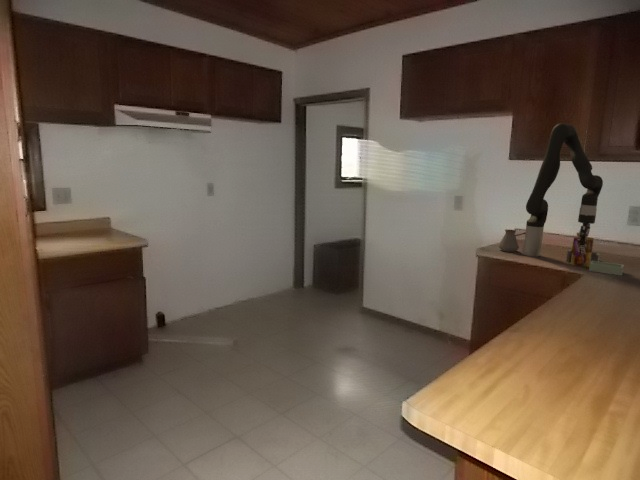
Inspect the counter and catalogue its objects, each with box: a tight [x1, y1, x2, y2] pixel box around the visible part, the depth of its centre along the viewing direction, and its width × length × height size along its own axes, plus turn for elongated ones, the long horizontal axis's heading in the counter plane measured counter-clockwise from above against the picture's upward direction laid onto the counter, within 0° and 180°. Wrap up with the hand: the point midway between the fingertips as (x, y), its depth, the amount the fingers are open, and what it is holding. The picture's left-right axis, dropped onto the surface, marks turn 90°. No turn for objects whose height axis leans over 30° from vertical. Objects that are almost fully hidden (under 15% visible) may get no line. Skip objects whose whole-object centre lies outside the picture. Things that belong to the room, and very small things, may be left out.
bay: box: [566, 248, 601, 263], centre depth 234 cm, size 14×8×6 cm, turn 52°
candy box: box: [570, 235, 595, 268], centre depth 226 cm, size 9×4×15 cm, turn 53°
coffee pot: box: [498, 229, 526, 253], centre depth 258 cm, size 21×12×15 cm, turn 61°
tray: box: [588, 260, 625, 276], centre depth 215 cm, size 14×9×4 cm, turn 52°
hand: (583, 244), depth 226 cm, fingers open, 8 cm apart
